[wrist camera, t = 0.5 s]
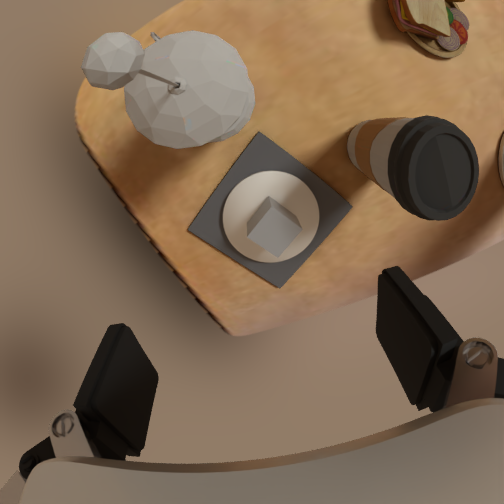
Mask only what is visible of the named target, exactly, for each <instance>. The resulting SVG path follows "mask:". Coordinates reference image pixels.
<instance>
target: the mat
mask: <svg viewBox="0 0 504 504" xmlns="http://www.w3.org/2000/svg"><path fill="white" fill-rule="evenodd" d="M268 170H276V171H282V172H286V173H289V174H292V175H294V176H296V177H297V178H299V179H300V180H301V181H303V182H304V183H305V184H306V185H307V186H308V188H309V189H310V190H311V191H312V193H313V195H314V196H315V198H316V201H317V204H318V207H319V225H318V228H317V231H316V234H315V236H314V238H313V239H312V241H311V242H310V244H309V245H308V246H307V247H306V248H305V249H304V250H303V251H302V252H300V253H299V254H298V255H296V256H294V257H292V258H290V259H287V260H284V261H280V262H272V263H268V262H259V261H256V260H253V259H250V258H248V257H246V256H244V255H243V254H241V253H240V252H239V251H237V250H236V249H235V248H234V246H233V245H232V244H231V243H230V241H229V239H228V238H227V235H226V233H225V230H224V226H223V211H224V206H225V203H226V200H227V198H228V196H229V194H230V192H231V191H232V189H233V188H234V187H235V186H236V185H237V184H238V183H239V182H240V181H241V180H243V179H244V178H246V177H248V176H250V175H252V174H254V173H257V172H261V171H268ZM352 207H353V206H352V205H350V204H349V203H348V202H347V201H346V200H345V199H344V198H342V197H341V196H340V195H339V194H338V193H337V192H335V191H334V190H333V189H332V188H331V187H330V186H328V185H327V184H326V183H325V182H324V181H322V180H321V179H320V178H319V177H318V176H316V175H315V174H314V173H313V172H311V171H310V170H309V169H308V168H306V167H305V166H304V165H303V164H301V163H300V162H299V161H298V160H296V159H295V158H294V157H292V156H291V155H290V154H289V153H287V152H286V151H285V150H283V149H282V148H281V147H279V146H278V145H277V144H275V143H274V142H273V141H271V140H270V139H269V138H267V137H266V136H265V135H263V134H262V133H260V132H258V133H257V135H256V136H255V137H254V138H253V140H252V141H251V142H250V144H249V145H248V146H247V148H246V149H245V150H244V152H243V153H242V154H241V155H240V157H239V158H238V159H237V161H236V162H235V163H234V165H233V166H232V168H231V169H230V170H229V172H228V173H227V174H226V176H225V177H224V178H223V180H222V181H221V183H220V184H219V185H218V187H217V188H216V189H215V191H214V192H213V194H212V195H211V196H210V198H209V199H208V201H207V202H206V204H205V205H204V206H203V208H202V209H201V211H200V212H199V214H198V215H197V217H196V218H195V219H194V221H193V222H192V224H191V225H190V227H189V228H188V230H189V231H190V232H192V233H193V234H195V235H197V236H198V237H200V238H201V239H203V240H204V241H206V242H207V243H209V244H211V245H212V246H214V247H215V248H217V249H218V250H220V251H221V252H223V253H225V254H226V255H228V256H229V257H231V258H232V259H234V260H236V261H237V262H239V263H240V264H242V265H243V266H245V267H247V268H248V269H250V270H251V271H253V272H255V273H256V274H258V275H259V276H261V277H262V278H264V279H266V280H267V281H269V282H270V283H272V284H274V285H275V286H277V287H278V288H281V287H282V286H283V285H284V284H285V283H286V282H287V280H288V279H289V278H290V277H291V276H292V275H293V274H294V273H295V272H296V271H297V270H298V268H299V267H300V266H301V265H302V264H303V263H304V262H305V261H306V260H307V259H308V257H309V256H310V255H311V254H312V253H313V252H314V251H315V250H316V248H317V247H318V246H319V245H320V244H321V243H322V242H323V241H324V239H325V238H326V237H327V236H328V235H329V234H330V233H331V231H332V230H333V229H334V228H335V227H336V226H337V225H338V223H339V222H340V221H341V220H342V219H343V218H344V216H345V215H346V214H347V213H348V212H349V211H350V209H351V208H352Z"/></svg>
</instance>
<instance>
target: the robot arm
mask: <svg viewBox="0 0 504 504" xmlns="http://www.w3.org/2000/svg"><path fill="white" fill-rule="evenodd" d="M499 173H500V177H501V181H502V184H503V186H504V134H503V137H502V140H501V143H500V149H499ZM376 334H377V338H378V340H379V341H380V343H381V345H382V347H383V349H384V351H385V353H386V355H387V357H388V359H389V361H390V363H391V365H392V367H393V368H394V371H395V372H396V374H397V376H398V379H399V381H400V383H401V385H402V387H403V389H404V391H405V393H406V395H407V397H408V399H409V401H410V403H411V404H412V405H415V404H416V406H417V408H418V411H420V410H422V409H425V408H427V407H429V409H430V411H431V412H433V413H432V414H429V415H426V416H423V417H420V418H418V419H415V420H413V421H411V422H408V423H405V424H402V425H399V426H397V427H394V428H391V429H388V430H385V431H382V432H379V433H376V434H373V435H370V436H366V437H363V438H360V439H356V440H353V441H349V442H345V443H342V444H338V445H334V446H330V447H326V448H321V449H317V450H312V451H307V452H302V453H297V454H291V455H285V456H279V457H273V458H265V459H257V460H248V461H237V462H224V463H202V464H166V463H146V462H133V461H126V460H125V458H126V455H128V456H137V457H139V456H140V452H141V450H142V449H143V448H144V446H145V441H146V436H147V431H148V426H149V421H150V416H151V411H152V406H153V402H154V397H155V393H156V388H157V384H158V373H157V371H156V370H155V368H154V367H153V365H152V363H151V362H150V360H149V359H148V357H147V355H146V354H145V352H144V351H143V349H142V347H141V346H140V344H139V342H138V341H137V339H136V337H135V335H134V334H133V332H132V330H131V329H130V328H129V327H128V326H126V325H125V324H123V323H121V324H114V325H110V326H109V327H108V329H107V331H106V333H105V335H104V337H103V339H102V341H101V343H100V345H99V347H98V350H97V352H96V354H95V356H94V358H93V360H92V362H91V365H90V367H89V369H88V371H87V374H86V376H85V378H84V381H83V383H82V385H81V388H80V390H79V392H78V395H77V397H76V399H75V402H74V404H73V406H74V407H75V408H76V411H75V412H73V411H72V410H63V411H60V412H58V413H57V414H56V415H55V416H54V417H53V419H52V420H51V422H50V424H49V435H50V436H49V437H48V438H46V439H45V440H43V441H42V442H40V443H39V444H37V445H36V446H34V447H33V448H31V449H30V450H29V451H27V452H26V453H25V454H23V456H22V457H21V460H20V463H19V470H20V472H19V471H16V472H15V473H14V474H13V476H12V477H11V478H10V479H9V480H8V482H7V483H6V484H5V485H4V487H3V488H2V489H1V490H0V504H504V359H502V358H498V355H497V351H496V349H495V347H494V346H493V345H492V344H491V343H490V342H489V341H487V340H485V339H482V338H471V339H467V340H466V341H463V340H462V339H461V338H460V336H459V335H458V334H457V332H456V331H455V330H454V329H453V327H452V326H451V325H450V323H449V322H448V321H447V320H446V319H445V317H444V316H443V315H442V314H441V312H440V311H439V310H438V309H437V307H436V306H435V305H434V304H433V303H432V301H431V300H430V299H429V298H428V297H427V296H426V295H423V294H422V292H421V291H420V290H419V289H418V288H417V287H416V285H415V284H414V283H413V282H412V281H411V280H410V279H409V277H408V276H407V275H406V274H405V273H404V272H403V271H402V270H401V268H400V267H398V266H395V267H391V268H387V269H384V270H383V271H382V274H380V275H379V276H378V300H377V321H376Z"/></svg>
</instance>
